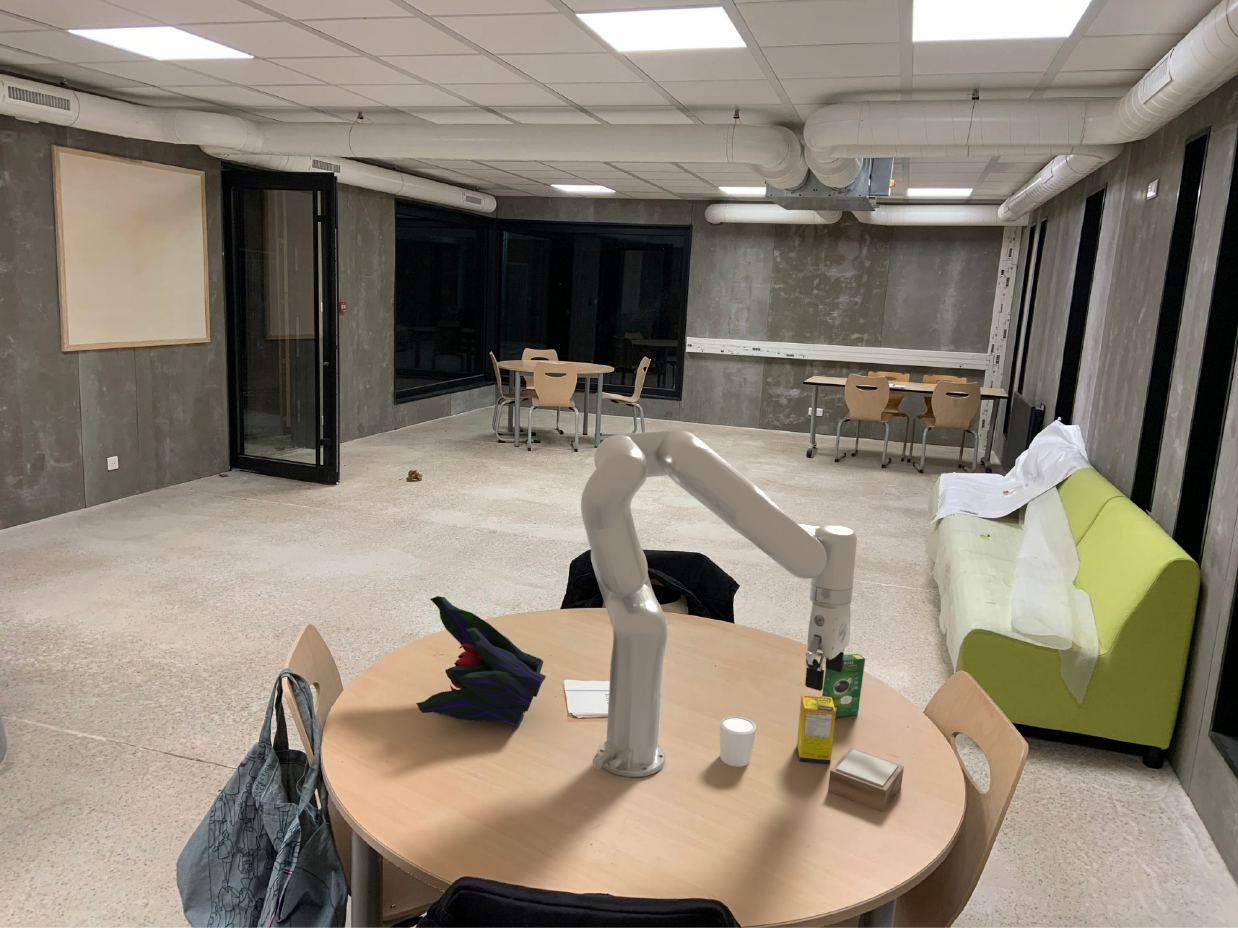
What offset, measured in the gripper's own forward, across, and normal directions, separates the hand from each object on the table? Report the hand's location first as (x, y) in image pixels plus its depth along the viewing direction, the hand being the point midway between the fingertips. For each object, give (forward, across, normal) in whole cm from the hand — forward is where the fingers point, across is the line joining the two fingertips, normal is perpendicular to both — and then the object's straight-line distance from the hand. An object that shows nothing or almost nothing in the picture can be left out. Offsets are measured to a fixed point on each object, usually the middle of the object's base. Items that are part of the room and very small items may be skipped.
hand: (823, 678), depth 166 cm
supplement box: (+16, -1, +1) cm, 16 cm away
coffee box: (+16, +18, +3) cm, 25 cm away
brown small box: (+16, -6, -11) cm, 20 cm away
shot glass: (+16, -12, +12) cm, 23 cm away
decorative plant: (+14, -31, +62) cm, 70 cm away
